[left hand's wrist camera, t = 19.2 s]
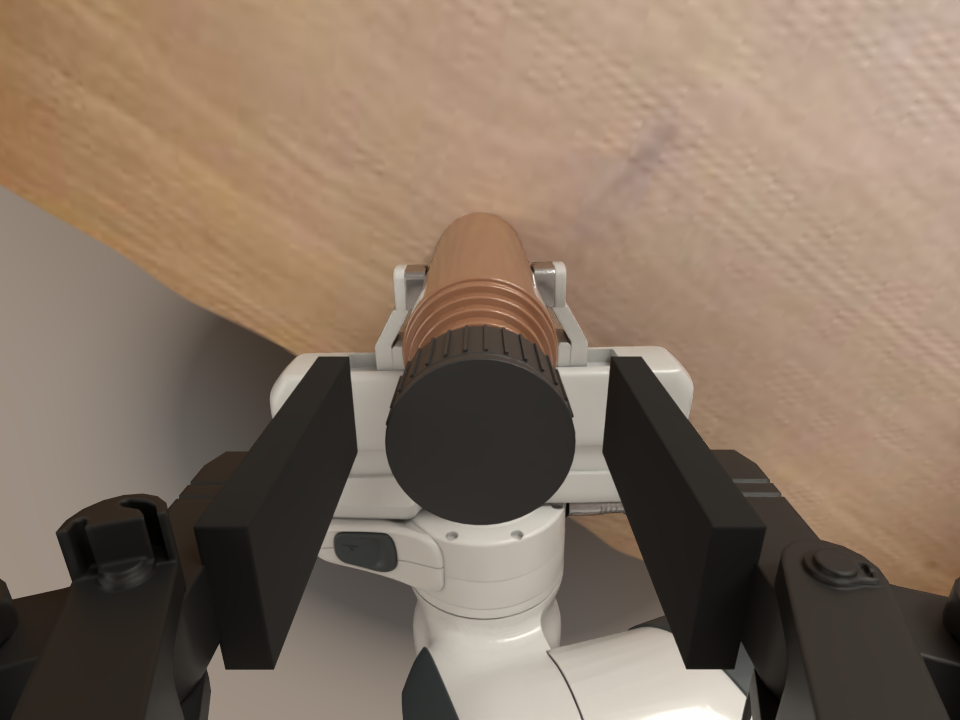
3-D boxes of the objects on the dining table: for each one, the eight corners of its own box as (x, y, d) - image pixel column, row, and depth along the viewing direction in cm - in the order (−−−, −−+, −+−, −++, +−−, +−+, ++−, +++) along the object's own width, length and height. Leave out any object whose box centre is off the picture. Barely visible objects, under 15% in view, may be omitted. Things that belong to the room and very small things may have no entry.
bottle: (538, 271, 33) (625, 467, 13) (465, 314, 33) (446, 554, 14) (495, 195, 31) (521, 291, 12) (420, 242, 32) (328, 402, 13)
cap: (453, 289, 13) (449, 317, 11) (597, 380, 14) (618, 422, 12) (366, 423, 15) (347, 471, 13) (503, 499, 16) (506, 556, 14)
